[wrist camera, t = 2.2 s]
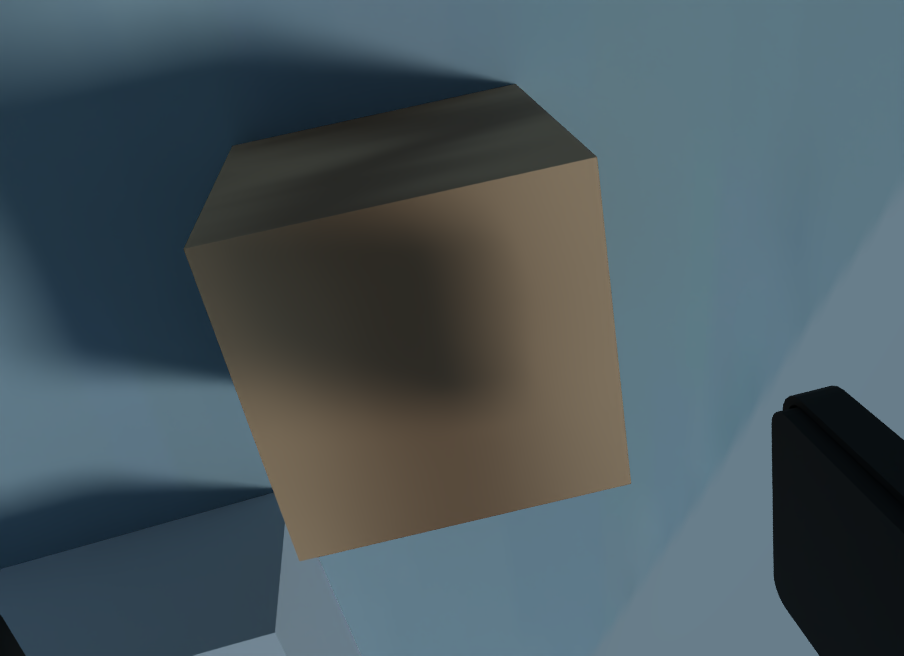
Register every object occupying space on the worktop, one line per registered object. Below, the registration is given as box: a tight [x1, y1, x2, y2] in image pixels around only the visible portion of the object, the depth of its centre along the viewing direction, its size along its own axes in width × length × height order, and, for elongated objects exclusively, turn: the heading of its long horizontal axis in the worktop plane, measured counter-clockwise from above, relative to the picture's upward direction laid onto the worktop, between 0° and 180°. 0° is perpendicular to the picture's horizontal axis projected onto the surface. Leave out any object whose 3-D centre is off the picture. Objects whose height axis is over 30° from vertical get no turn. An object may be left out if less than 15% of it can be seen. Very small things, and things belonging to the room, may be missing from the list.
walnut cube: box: [184, 84, 631, 561], centre depth 15 cm, size 6×6×6 cm
